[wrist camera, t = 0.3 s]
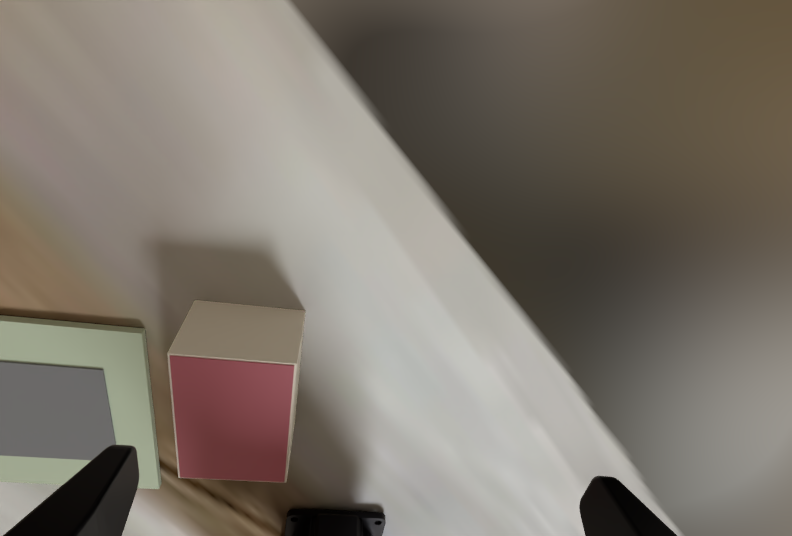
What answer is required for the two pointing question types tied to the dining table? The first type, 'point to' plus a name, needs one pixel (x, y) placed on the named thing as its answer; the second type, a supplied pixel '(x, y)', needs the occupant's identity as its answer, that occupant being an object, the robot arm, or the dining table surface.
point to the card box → (235, 390)
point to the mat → (72, 399)
